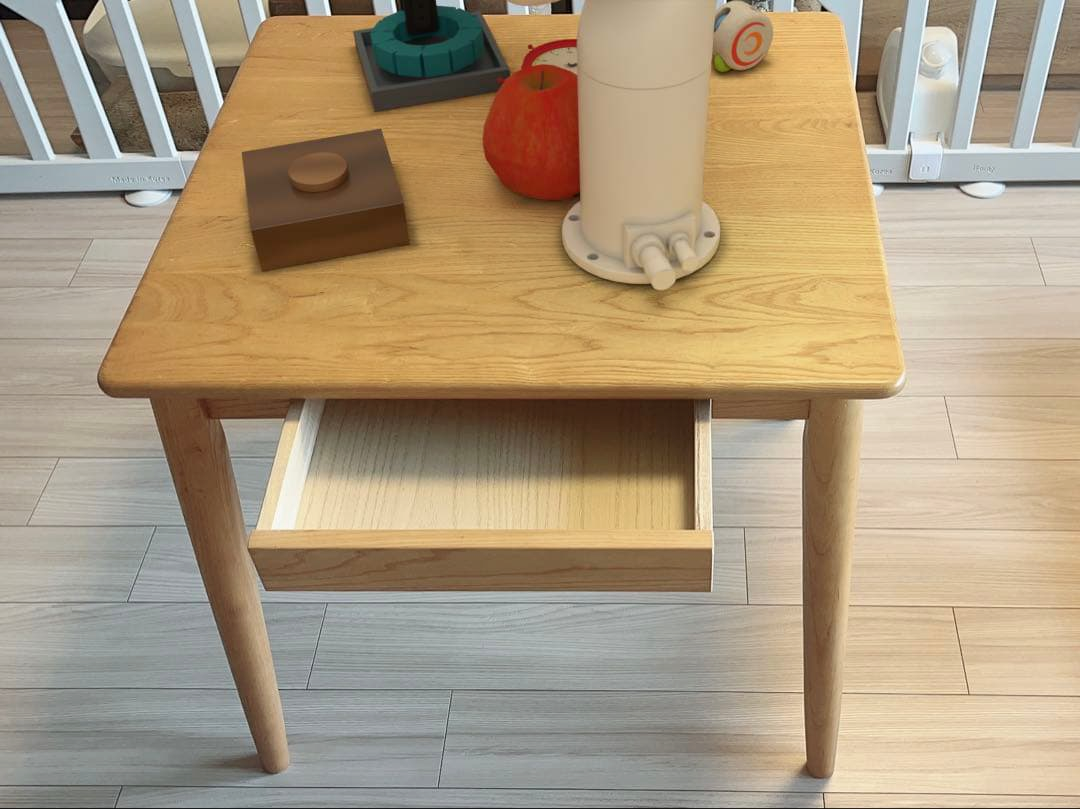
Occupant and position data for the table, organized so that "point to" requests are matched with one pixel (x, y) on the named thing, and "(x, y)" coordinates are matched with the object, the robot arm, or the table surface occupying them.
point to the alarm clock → (552, 55)
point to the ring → (433, 57)
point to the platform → (323, 199)
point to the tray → (420, 90)
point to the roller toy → (740, 36)
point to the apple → (536, 133)
